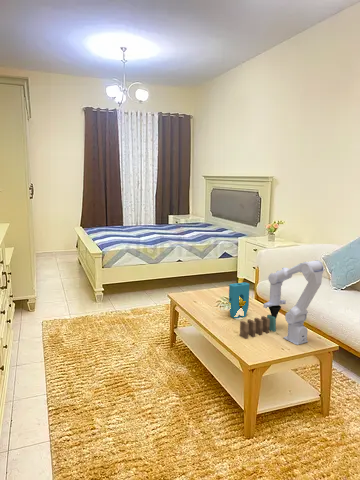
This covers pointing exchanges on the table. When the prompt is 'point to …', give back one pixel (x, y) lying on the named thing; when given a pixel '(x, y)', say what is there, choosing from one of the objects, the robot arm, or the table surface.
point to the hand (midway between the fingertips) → (273, 318)
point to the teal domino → (272, 323)
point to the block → (234, 294)
